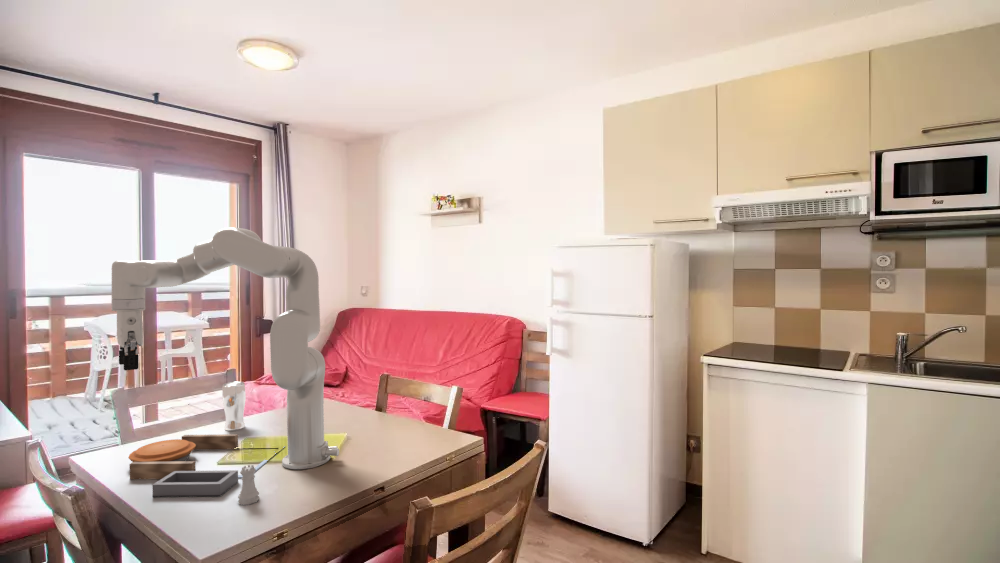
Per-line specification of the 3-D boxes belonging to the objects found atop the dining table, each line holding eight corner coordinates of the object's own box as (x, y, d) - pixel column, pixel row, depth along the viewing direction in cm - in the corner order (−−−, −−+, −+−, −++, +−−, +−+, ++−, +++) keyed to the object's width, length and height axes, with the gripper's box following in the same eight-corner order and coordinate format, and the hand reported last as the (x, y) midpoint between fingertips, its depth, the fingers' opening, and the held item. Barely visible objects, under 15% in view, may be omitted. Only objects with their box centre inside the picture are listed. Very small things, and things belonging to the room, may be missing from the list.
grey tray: (238, 482, 127) (237, 470, 127) (220, 496, 119) (220, 484, 119) (174, 482, 127) (174, 471, 127) (152, 497, 119) (152, 484, 119)
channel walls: (238, 447, 152) (237, 434, 152) (192, 478, 129) (191, 463, 129) (185, 448, 152) (184, 434, 152) (130, 479, 129) (129, 464, 129)
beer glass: (218, 430, 169) (217, 385, 168) (236, 423, 175) (235, 380, 175) (233, 432, 166) (232, 387, 166) (251, 426, 172) (250, 382, 172)
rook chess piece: (242, 497, 118) (242, 463, 118) (262, 496, 119) (261, 462, 119) (234, 506, 114) (233, 471, 114) (255, 505, 114) (254, 470, 114)
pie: (149, 454, 147) (149, 437, 147) (205, 451, 149) (205, 434, 149) (115, 476, 132) (114, 457, 132) (178, 472, 134) (177, 454, 134)
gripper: (150, 307, 136) (150, 370, 136) (140, 302, 148) (139, 360, 149) (115, 308, 130) (115, 373, 131) (107, 303, 143) (107, 363, 144)
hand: (128, 366), depth 140 cm, fingers open, 9 cm apart
